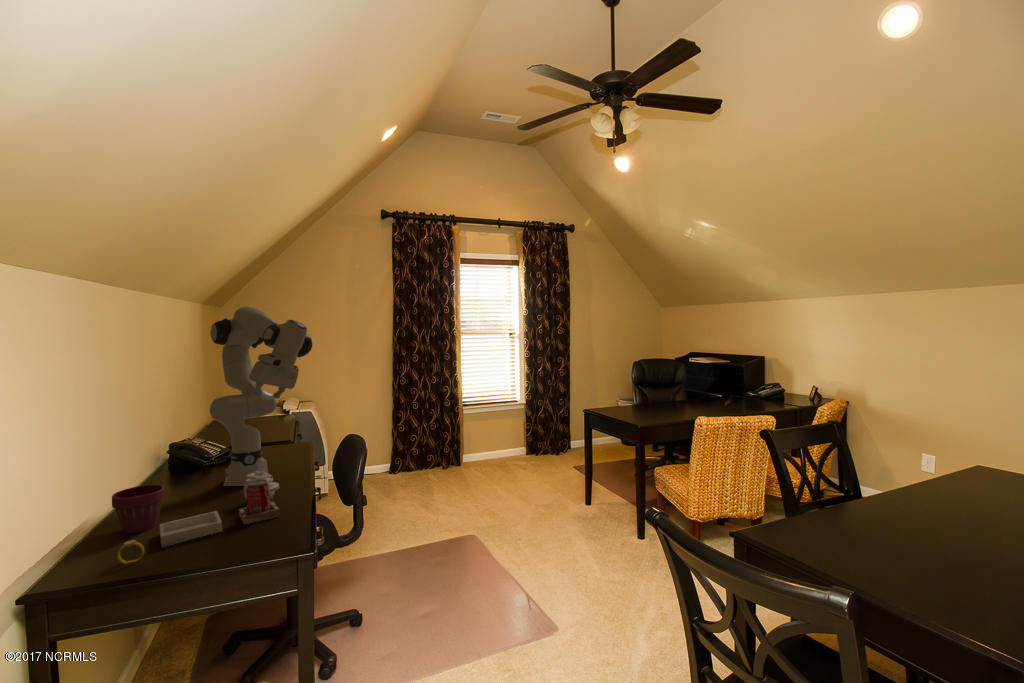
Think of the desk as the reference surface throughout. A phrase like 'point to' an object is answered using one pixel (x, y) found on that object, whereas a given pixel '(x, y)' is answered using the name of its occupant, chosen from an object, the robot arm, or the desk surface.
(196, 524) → the tray
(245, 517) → the can holder
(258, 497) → the soda can
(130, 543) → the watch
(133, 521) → the plant pot
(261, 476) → the mechanical part
